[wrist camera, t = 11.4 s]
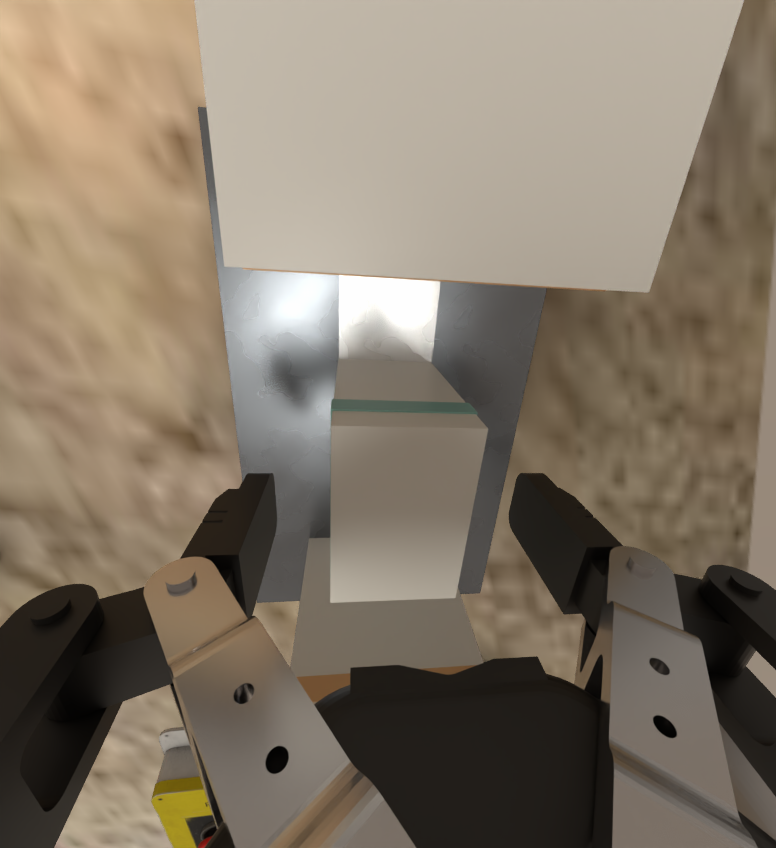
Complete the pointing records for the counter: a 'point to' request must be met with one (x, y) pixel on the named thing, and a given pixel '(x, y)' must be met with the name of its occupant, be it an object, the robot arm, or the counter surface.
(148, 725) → the counter surface
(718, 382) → the counter surface
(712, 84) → the mounted modules
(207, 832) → the emergency button
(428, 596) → the block
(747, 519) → the counter surface
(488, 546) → the rail plate
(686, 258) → the counter surface
